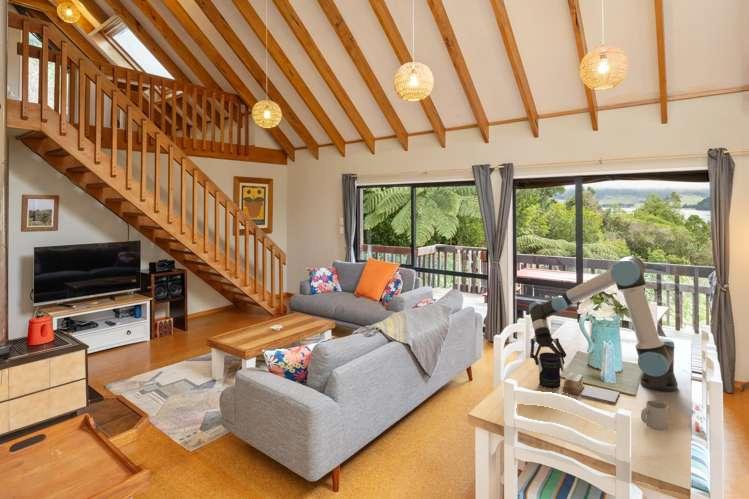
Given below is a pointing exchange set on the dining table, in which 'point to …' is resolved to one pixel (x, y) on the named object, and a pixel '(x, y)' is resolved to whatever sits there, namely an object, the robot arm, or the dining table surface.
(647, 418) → the cup
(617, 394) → the slate board
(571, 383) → the brown wooden block
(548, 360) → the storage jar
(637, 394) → the dining table surface
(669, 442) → the dining table surface
